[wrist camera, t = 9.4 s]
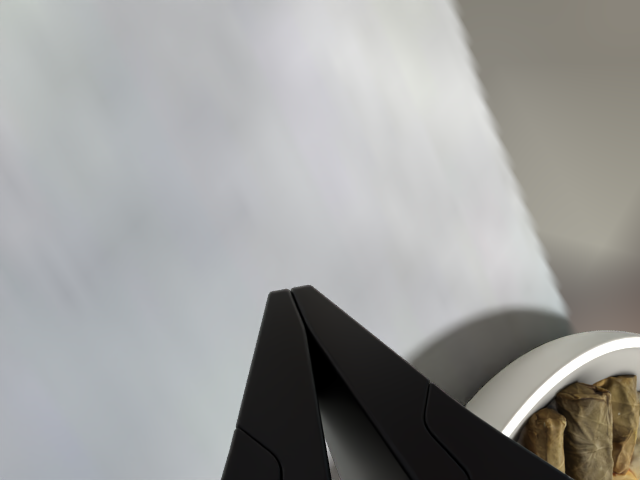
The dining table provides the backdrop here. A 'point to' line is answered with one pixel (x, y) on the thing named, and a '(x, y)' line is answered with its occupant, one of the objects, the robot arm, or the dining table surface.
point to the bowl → (572, 404)
